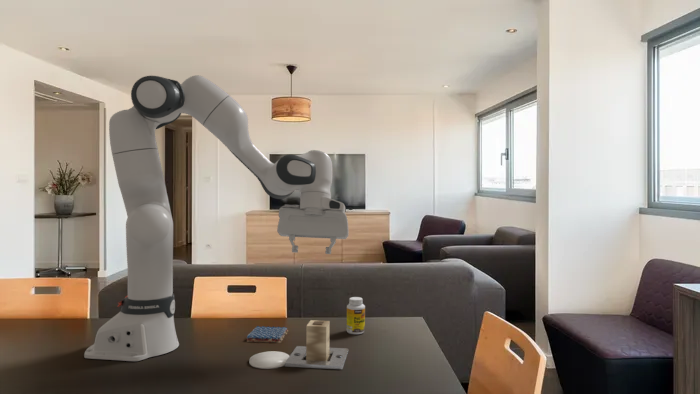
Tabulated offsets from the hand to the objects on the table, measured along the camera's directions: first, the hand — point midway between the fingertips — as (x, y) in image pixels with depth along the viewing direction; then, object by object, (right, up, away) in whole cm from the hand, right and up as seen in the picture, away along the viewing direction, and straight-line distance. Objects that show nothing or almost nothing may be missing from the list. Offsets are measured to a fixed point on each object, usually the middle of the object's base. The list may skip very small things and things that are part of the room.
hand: (311, 253), depth 124 cm
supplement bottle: (+13, -25, +10) cm, 30 cm away
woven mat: (-13, -26, +5) cm, 29 cm away
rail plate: (+3, -25, -12) cm, 28 cm away
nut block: (+3, -25, -12) cm, 28 cm away
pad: (-9, -25, -14) cm, 30 cm away
